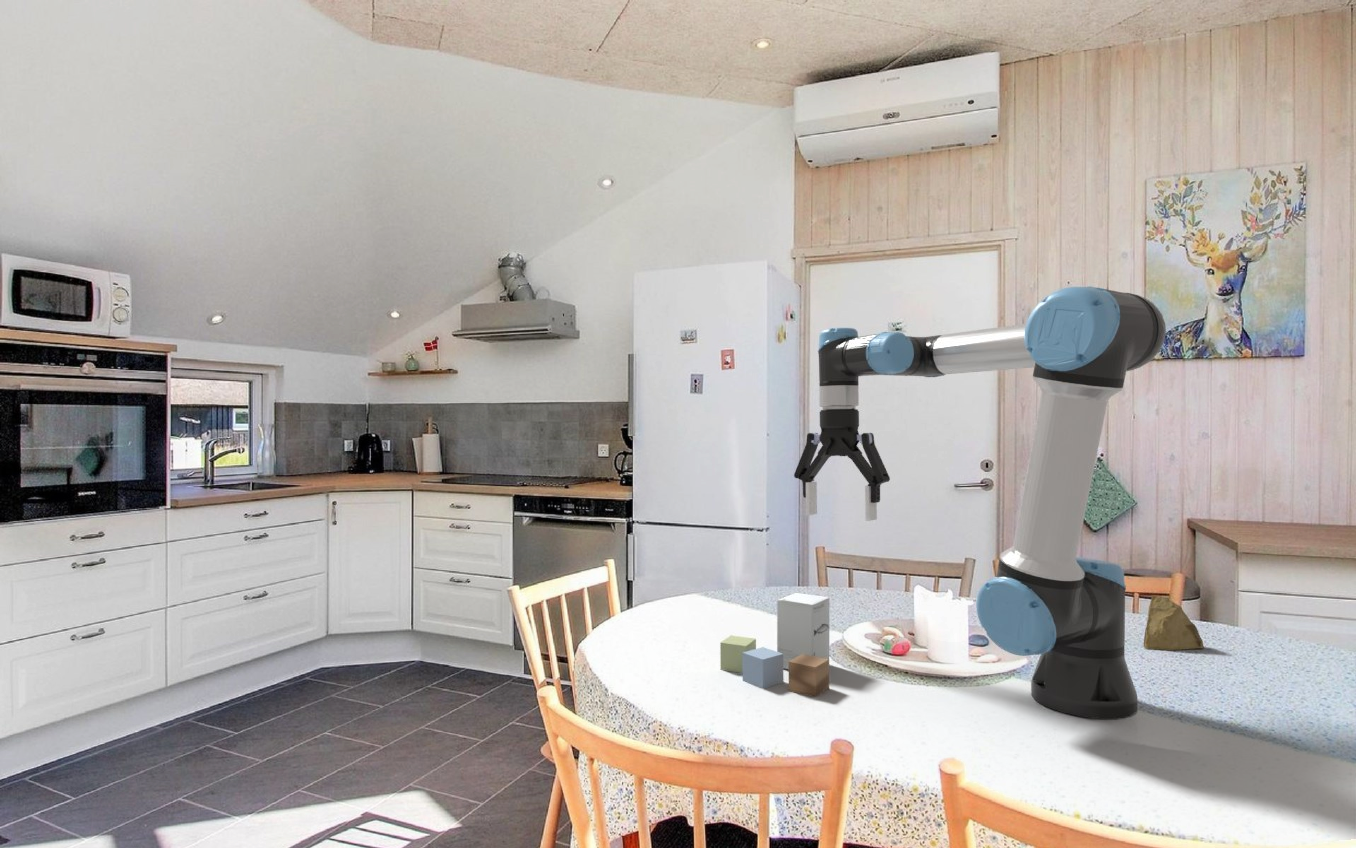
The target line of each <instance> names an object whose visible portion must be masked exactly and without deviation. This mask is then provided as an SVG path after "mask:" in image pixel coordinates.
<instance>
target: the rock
mask: <svg viewBox="0 0 1356 848" xmlns="http://www.w3.org/2000/svg"><path fill="white" fill-rule="evenodd" d="M1150 598H1151V600H1150V603H1149V607H1148V612H1147V621H1146V626H1145V629H1144V631H1145V632H1144V639H1143V648H1144V650H1151V649H1152V650H1161V651H1175V650H1190V649H1191V650H1192V649H1205V646H1204V641H1203V639H1202V638H1201V635H1200V631H1199V630H1198V628H1197V625H1195V623H1193V622H1192V621H1191V619H1189V617H1188V615H1187V614H1186V613H1185V612H1184V610H1183V608H1182V607H1181V605H1179V604H1177V603H1175V602H1174V601H1173V600H1171V599H1169V598H1168V597H1165V596H1163V595H1155V594H1152V595H1151V597H1150Z"/></svg>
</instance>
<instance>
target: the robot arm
mask: <svg viewBox="0 0 1356 848" xmlns="http://www.w3.org/2000/svg"><path fill="white" fill-rule="evenodd" d="M1166 327H1167V326H1166V322H1165V319H1164V317H1163V314H1162V312H1161V311H1160V309H1159V308H1158V307H1157V306H1156V305H1155V304H1154V303H1153V302H1152V301H1150V300H1149V299H1147V298H1146V297H1143V296H1141V295H1139V294H1134V293H1131V292H1130V293H1129V292H1121V291H1116V290H1111V289H1106V288H1100V287H1095V286H1090V285H1089V286H1069V287H1064V288H1061V289H1058V290H1055V291H1053V292H1051V293H1050V294H1048V295H1046V297H1044V298H1043V299H1042V300H1041V301H1039V302H1038V303H1037V304H1036V305H1035V306H1034V308H1033V310H1032V311H1031V313H1030V314H1029V316H1028V319H1027V321H1026V323H1022V324H1014V325H1006V326H999V327H991V328H983V329H977V330H969V331H961V332H953V333H946V334H939V335H931V336H911V335H910V336H909V335H905V334H904V332H900V331H894V332H893V331H891V332H888V331H884V332H880V333H875V334H869V335H862V336H859V334H858V333H859V332H858V330H857V329H856V328H854V327H853V328H852V327H835V328H834V327H833V328H826V329H824V330H822V331H821V332H820V333H819V338H818V339H819V340H818V350H817V352H818V373H819V374H818V375H819V378H818V379H819V380H818V381H819V383H818V385H819V386H818V387H819V389H818V391H819V395H818V396H819V397H818V398H819V399H818V400H819V401H818V402H819V403H818V404H819V407H821V408H822V409H821V410H820V411H819V427H820V433H818V432H808V433H807V434H806V443H805V447H804V449H803V452H802V454H801V457H800V459H799V460H798V464H797V467H796V468H795V470H794V471H795V472H794V473H793V477H794V478H795V479H798V480H801V482H802V497H803V498H805V515H806V516H812V515H814V516H815V515H817V514H818V493H817V492H818V490H817V489H818V488H817V486H818V485H817V483H818V482H817V481H815V478H816V476H817V475H818V474H819V472H820V471H821V469H823V466H824V465H825V464H826V462H827V461H828V459H829V458H831V457H837V456H839V457H847V458H848V459H851V461H852V462H853V464H854V465H855V466H856V468H857V470H858V471H859V472H860V473H861V475H862V476H863V478H864V479H865V480H866V482H867V483H868V484H867V485H864V486H865V487H864V489H865V490H864V491H865V492H864V493H865V495H864V496H865V501H864V503H865V504H864V505H865V521H868V522H871V521H877V519H878V518H877V517H878V516H877V515H878V514H877V513H878V510H877V506H878V505H877V504H878V503H880V501H881V485H882V484H885V483H888V482H890V480H891V478H890V475H889V473H888V470H887V469H886V467H885V464H884V462H883V460H882V458H881V456H880V453H879V451H878V449H877V446H876V444H875V437H874V433H873V432H863V433H862V434H860V433H859V427H860V411H859V409H857V408H856V407H858V406H859V397H860V396H859V395H860V394H859V383H860V381H859V377H865V376H866V377H868V376H904V377H908V376H909V377H924V378H937V377H938V378H939V377H943V376H946V375H952V374H953V375H955V374H966V373H979V372H991V371H992V372H993V371H1005V370H1006V371H1007V370H1008V371H1009V370H1018V369H1031V368H1032V369H1033V373H1032V379H1033V381H1034V382H1035V383H1036V384H1037V386H1038V387H1039V389H1040V391H1041V392H1040V397H1039V398H1040V399H1039V401H1038V402H1039V404H1038V409H1037V413H1036V419H1035V425H1034V430H1033V431H1034V432H1033V435H1032V440H1031V446H1030V452H1029V457H1028V462H1027V469H1026V475H1025V481H1024V485H1023V490H1022V495H1021V501H1020V506H1019V512H1018V516H1017V522H1016V528H1015V534H1014V539H1013V544H1012V546H1011V547H1010V548H1008V549H1006V550H1004V551H1002V552H1000V554H999V558H998V565H997V570H996V574H995V575H996V576H995V577H992V578H990V579H989V580H988V581H987V582H985V583H983V585H982V586H981V587H980V589H979V591H978V593H977V596H976V602H975V604H976V605H975V606H976V614H977V618H978V621H979V624H980V625H981V627H982V628H983V629H984V631H985V632H986V636H987V637H988V638H989V639H990V641H992V642H993V643H994V645H996V646H998V647H999V648H1000V649H1001V650H1002V651H1004V652H1007V653H1008V654H1012V655H1015V656H1021V657H1024V656H1025V657H1026V656H1027V657H1028V656H1033V655H1034V656H1035V655H1036V656H1037V655H1039V659H1038V661H1037V662H1036V663H1037V664H1036V666H1035V669H1034V672H1033V674H1032V677H1031V682H1030V695H1031V697H1032V699H1033V700H1035V701H1036V702H1037V703H1039V704H1041V705H1043V706H1045V707H1046V708H1049V709H1052V710H1054V711H1057V712H1060V713H1064V714H1067V715H1072V716H1078V717H1083V718H1091V719H1104V720H1105V719H1106V720H1108V719H1109V720H1111V719H1122V718H1123V719H1125V718H1128V717H1132V716H1133V715H1135V714H1137V713H1138V694H1137V690H1136V687H1135V685H1134V682H1133V678H1132V676H1131V673H1130V671H1129V668H1128V664H1127V662H1126V659H1125V658H1126V657H1125V645H1126V644H1125V642H1126V641H1125V638H1126V637H1125V636H1126V635H1125V633H1126V632H1125V631H1126V629H1125V628H1126V625H1125V624H1126V621H1125V620H1126V619H1125V618H1126V610H1125V609H1126V608H1125V607H1126V590H1127V585H1126V584H1125V583H1126V582H1125V572H1124V568H1122V567H1121V566H1120V565H1119V564H1117V563H1115V562H1111V561H1105V560H1099V559H1094V558H1087V557H1086V558H1085V557H1079V556H1077V555H1078V549H1079V544H1080V540H1081V539H1080V538H1081V535H1082V529H1083V525H1084V520H1085V515H1086V510H1087V505H1088V499H1089V496H1090V492H1091V491H1090V490H1091V484H1092V480H1093V476H1094V475H1093V474H1094V470H1095V466H1096V461H1097V456H1098V450H1099V446H1100V441H1101V435H1102V432H1103V431H1102V430H1103V425H1104V421H1105V416H1106V410H1107V407H1108V402H1109V400H1110V399H1111V398H1112V397H1114V396H1115V395H1117V394H1118V393H1120V392H1121V391H1123V389H1124V383H1125V379H1126V375H1127V372H1130V371H1134V370H1137V369H1139V368H1142V367H1143V366H1145V365H1147V364H1148V363H1150V362H1151V361H1152V360H1153V359H1154V358H1155V357H1156V356H1157V354H1158V353H1159V352H1160V351H1161V349H1162V348H1163V345H1164V343H1165V340H1166V334H1167V333H1166V332H1167V330H1166ZM820 443H821V445H822V446H821V447H820V449H819V450H818V446H819V444H820ZM859 443H860V444H861V445H862V448H863V451H864V453H865V455H866V457H867V459H866V457H865V456H864V455H863V452H862V450H860V447H859V446H858V444H859ZM817 450H818V452H817V455H816V456H815V454H816V451H817ZM814 456H815V457H814ZM813 459H814V460H813ZM867 460H868V461H869V462H868V461H867Z"/></svg>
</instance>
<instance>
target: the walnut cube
mask: <svg viewBox="0 0 1356 848" xmlns="http://www.w3.org/2000/svg"><path fill="white" fill-rule="evenodd" d="M829 689H830V658H829V659H825V658H820V657H815V656H810V655H805V654H802V655H800V656H798V657H796V658H794V659H792V660H791V661H789V670H788V692H793V693H796V694H800V695H806V696H810V697H814V698H818V696H820V695H821V694H823V693H824V692H826V691H827V690H829Z"/></svg>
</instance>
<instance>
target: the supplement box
mask: <svg viewBox="0 0 1356 848" xmlns="http://www.w3.org/2000/svg"><path fill="white" fill-rule="evenodd" d="M776 602H777V603H776V604H777V605H776V606H777V607H776V610H777V612H776V614H777V616H776V617H777V618H776V620H777V622H776V634H777V635H776V636H777V637H776V639H777V640H776V645H777V647H776V652H779V653H782V654H783V670H784V669H785V670H788V671H789V661H791V660H792V659H794V658H796V657H798V656H800V655H802V654H805V655H810V656H815V657H820V658H825V659H829V660H830V597H828V596H821V595H816V594H814V595H813V594H807V593H801V592H799V593H798V592H795V593H792V594H789V595H788V596H785V597H782V598H779V599H777V601H776Z"/></svg>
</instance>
